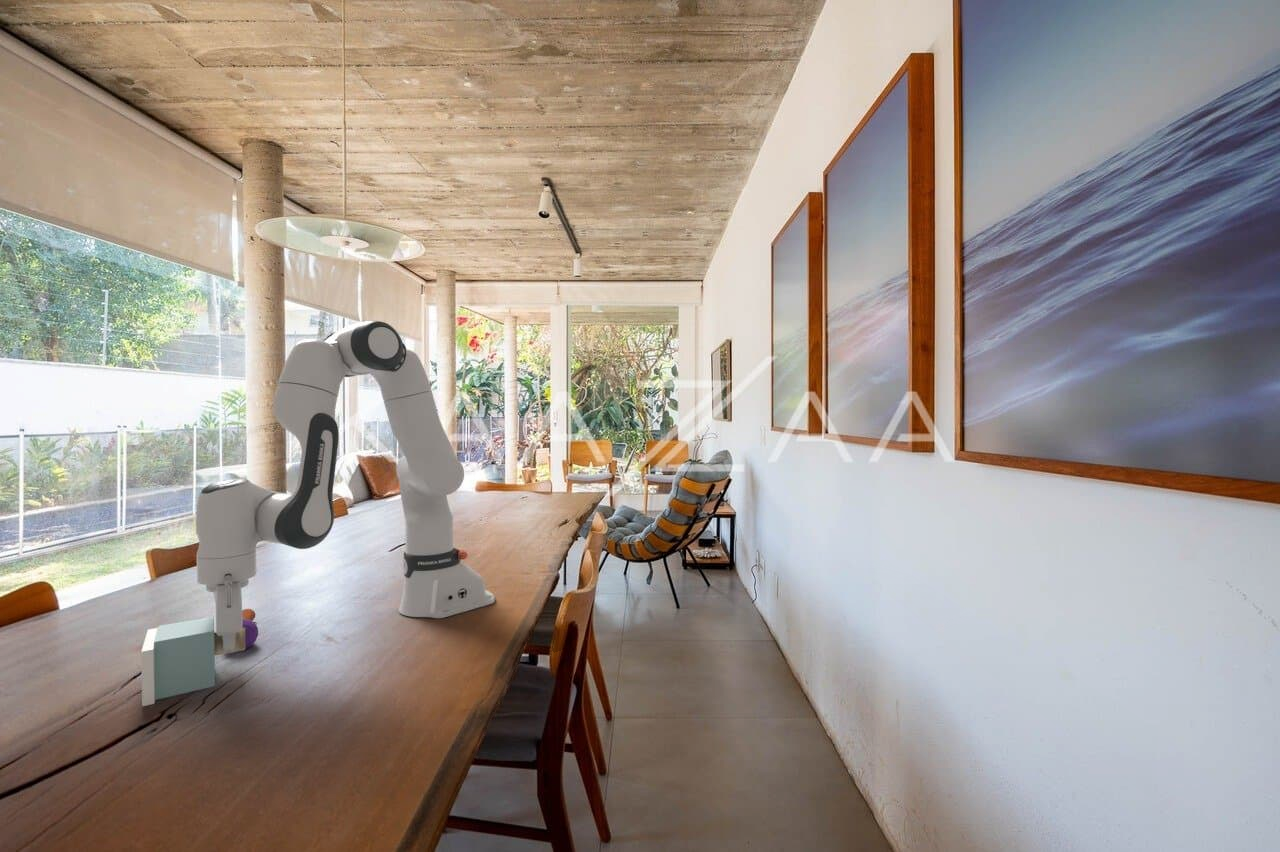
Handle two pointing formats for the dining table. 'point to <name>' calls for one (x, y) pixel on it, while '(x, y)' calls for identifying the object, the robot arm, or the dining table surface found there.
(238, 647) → the dowel
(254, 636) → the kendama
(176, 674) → the block
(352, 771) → the dining table surface
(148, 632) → the slab
